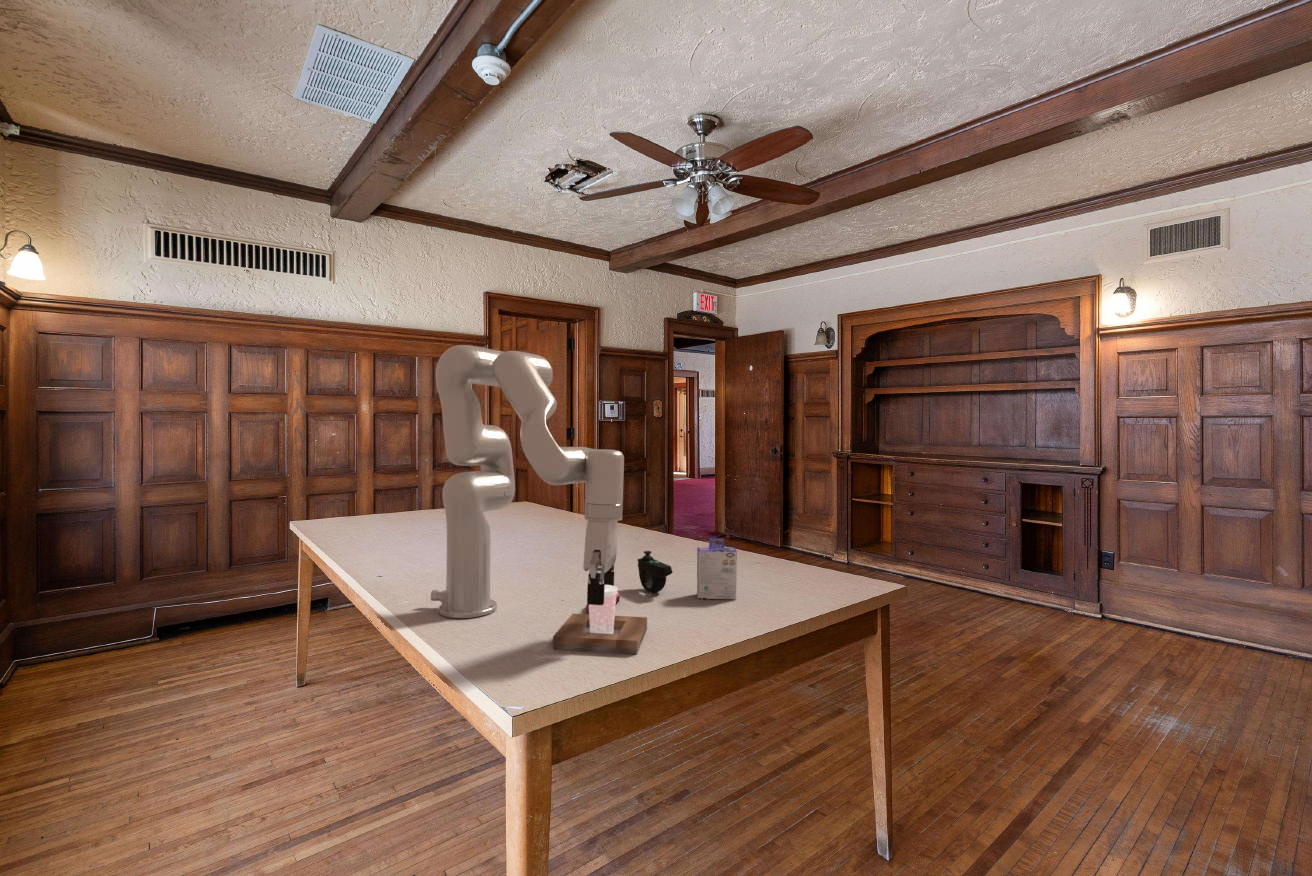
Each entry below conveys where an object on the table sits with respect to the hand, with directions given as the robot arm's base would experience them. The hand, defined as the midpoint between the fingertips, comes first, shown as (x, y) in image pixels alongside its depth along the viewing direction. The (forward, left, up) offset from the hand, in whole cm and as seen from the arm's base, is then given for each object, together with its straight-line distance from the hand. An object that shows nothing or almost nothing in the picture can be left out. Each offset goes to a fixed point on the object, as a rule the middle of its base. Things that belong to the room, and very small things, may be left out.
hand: (600, 597), depth 117 cm
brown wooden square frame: (0, 0, -8) cm, 8 cm away
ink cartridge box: (+22, +34, -9) cm, 41 cm away
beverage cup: (0, 0, -7) cm, 7 cm away
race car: (-4, +21, -9) cm, 23 cm away
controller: (+6, +35, -9) cm, 36 cm away
